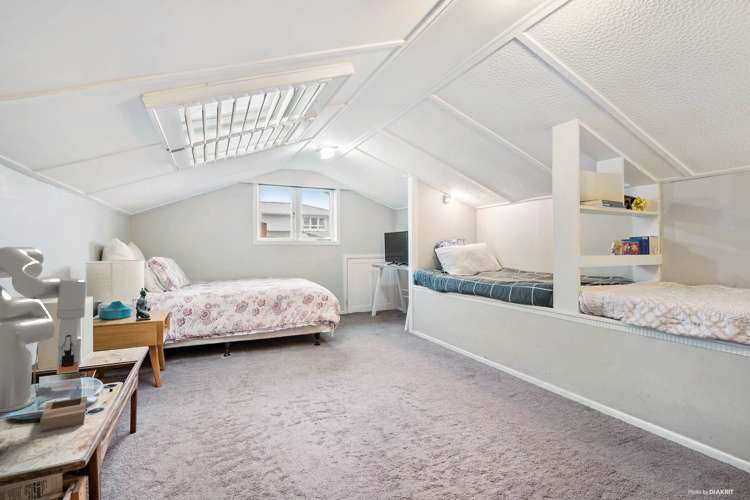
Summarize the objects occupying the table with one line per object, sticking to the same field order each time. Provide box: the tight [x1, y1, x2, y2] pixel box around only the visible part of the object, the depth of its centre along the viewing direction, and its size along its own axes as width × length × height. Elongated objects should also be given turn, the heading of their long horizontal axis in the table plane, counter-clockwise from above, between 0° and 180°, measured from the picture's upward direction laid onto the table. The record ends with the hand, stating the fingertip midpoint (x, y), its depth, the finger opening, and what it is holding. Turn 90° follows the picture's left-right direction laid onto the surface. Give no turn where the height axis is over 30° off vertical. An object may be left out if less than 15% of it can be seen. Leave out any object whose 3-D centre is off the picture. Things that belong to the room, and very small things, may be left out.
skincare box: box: [56, 335, 82, 375], centre depth 125 cm, size 6×4×12 cm
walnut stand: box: [39, 396, 88, 434], centre depth 123 cm, size 14×11×4 cm
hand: (68, 363), depth 125 cm, fingers closed on skincare box, 4 cm apart
